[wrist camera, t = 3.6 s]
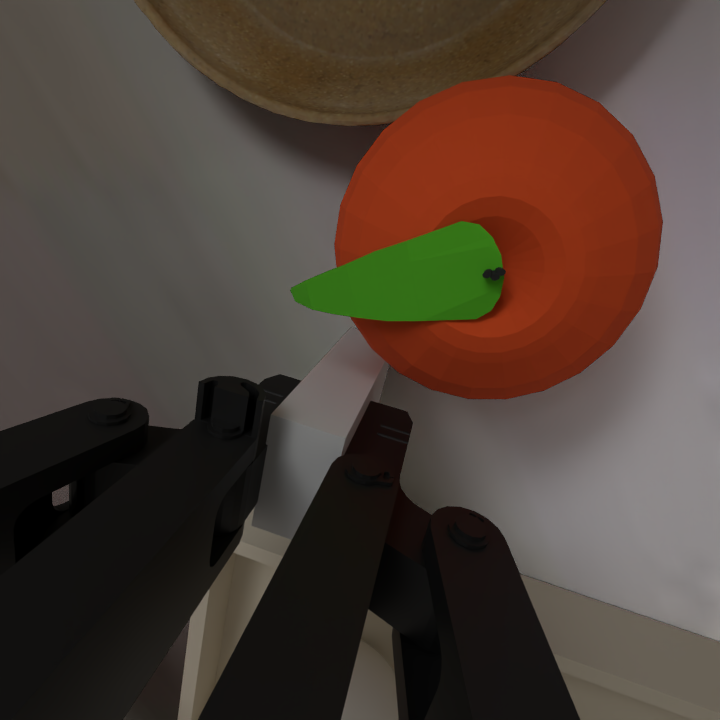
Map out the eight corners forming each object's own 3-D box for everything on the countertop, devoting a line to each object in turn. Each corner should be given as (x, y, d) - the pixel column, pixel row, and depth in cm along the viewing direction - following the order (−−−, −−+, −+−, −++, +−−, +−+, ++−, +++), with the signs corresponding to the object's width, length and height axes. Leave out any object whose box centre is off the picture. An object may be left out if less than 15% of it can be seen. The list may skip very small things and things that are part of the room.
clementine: (360, 366, 16) (287, 481, 10) (313, 154, 14) (180, 115, 8) (614, 332, 14) (744, 448, 7) (598, 77, 12) (755, -70, 6)
